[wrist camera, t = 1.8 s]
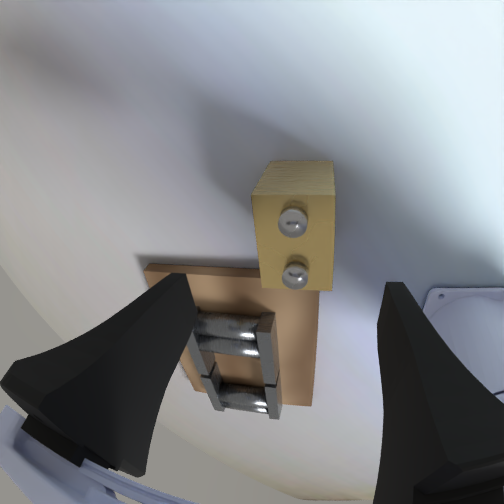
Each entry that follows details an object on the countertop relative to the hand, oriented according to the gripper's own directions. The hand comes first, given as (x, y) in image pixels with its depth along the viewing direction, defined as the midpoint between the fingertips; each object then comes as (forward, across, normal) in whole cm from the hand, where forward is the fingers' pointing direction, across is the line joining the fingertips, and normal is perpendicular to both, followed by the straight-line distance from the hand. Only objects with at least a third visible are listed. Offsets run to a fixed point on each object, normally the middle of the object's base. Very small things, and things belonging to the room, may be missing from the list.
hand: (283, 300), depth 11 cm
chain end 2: (+7, +5, +19) cm, 21 cm away
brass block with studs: (+9, 0, 0) cm, 9 cm away
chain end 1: (+8, +5, +11) cm, 15 cm away
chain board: (+8, +5, +14) cm, 17 cm away
